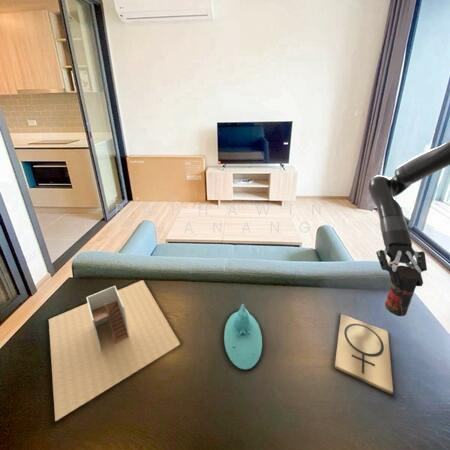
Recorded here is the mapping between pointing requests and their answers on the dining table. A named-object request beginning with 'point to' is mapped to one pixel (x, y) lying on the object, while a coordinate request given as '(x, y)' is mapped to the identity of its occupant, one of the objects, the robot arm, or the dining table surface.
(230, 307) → the dining table surface
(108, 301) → the staircase
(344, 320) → the sketch board
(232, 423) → the dining table surface
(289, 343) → the dining table surface
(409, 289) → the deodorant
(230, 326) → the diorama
